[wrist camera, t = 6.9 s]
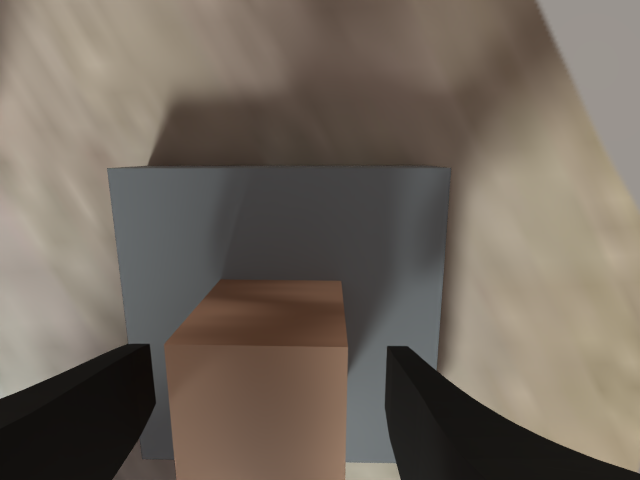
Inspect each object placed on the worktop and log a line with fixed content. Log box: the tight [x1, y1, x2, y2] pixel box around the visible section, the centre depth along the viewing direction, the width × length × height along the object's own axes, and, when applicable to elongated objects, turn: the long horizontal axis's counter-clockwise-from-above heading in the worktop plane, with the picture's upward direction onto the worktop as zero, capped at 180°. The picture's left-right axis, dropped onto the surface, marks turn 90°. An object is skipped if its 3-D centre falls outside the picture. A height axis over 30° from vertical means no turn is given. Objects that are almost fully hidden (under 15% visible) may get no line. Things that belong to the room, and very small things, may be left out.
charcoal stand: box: [107, 166, 451, 463], centre depth 16 cm, size 12×12×3 cm
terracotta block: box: [164, 279, 348, 480], centre depth 12 cm, size 4×4×5 cm
